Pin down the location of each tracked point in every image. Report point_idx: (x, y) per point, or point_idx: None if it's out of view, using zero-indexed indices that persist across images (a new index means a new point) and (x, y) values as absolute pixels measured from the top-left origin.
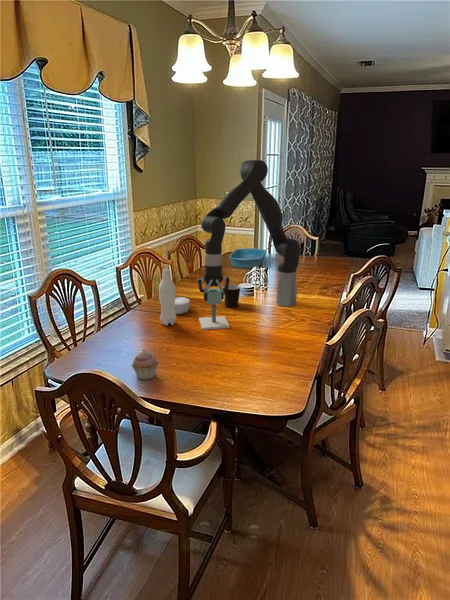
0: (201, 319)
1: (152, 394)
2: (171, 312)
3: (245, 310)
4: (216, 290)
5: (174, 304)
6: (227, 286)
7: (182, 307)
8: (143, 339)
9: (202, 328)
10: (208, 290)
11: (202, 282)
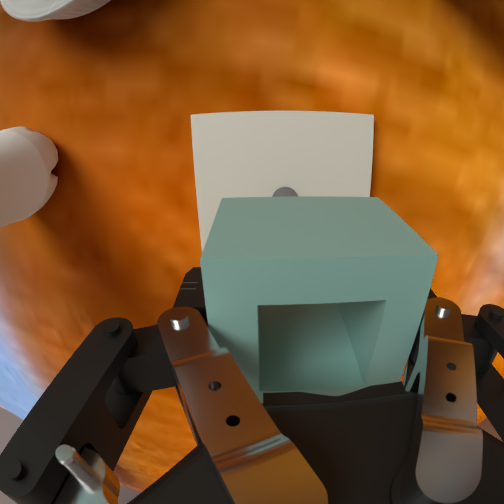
0: (206, 147)
1: (125, 484)
2: (7, 218)
3: (494, 41)
4: (377, 289)
5: (24, 18)
6: (495, 398)
7: (82, 5)
8: (4, 310)
9: None
10: (241, 330)
11: (113, 482)
